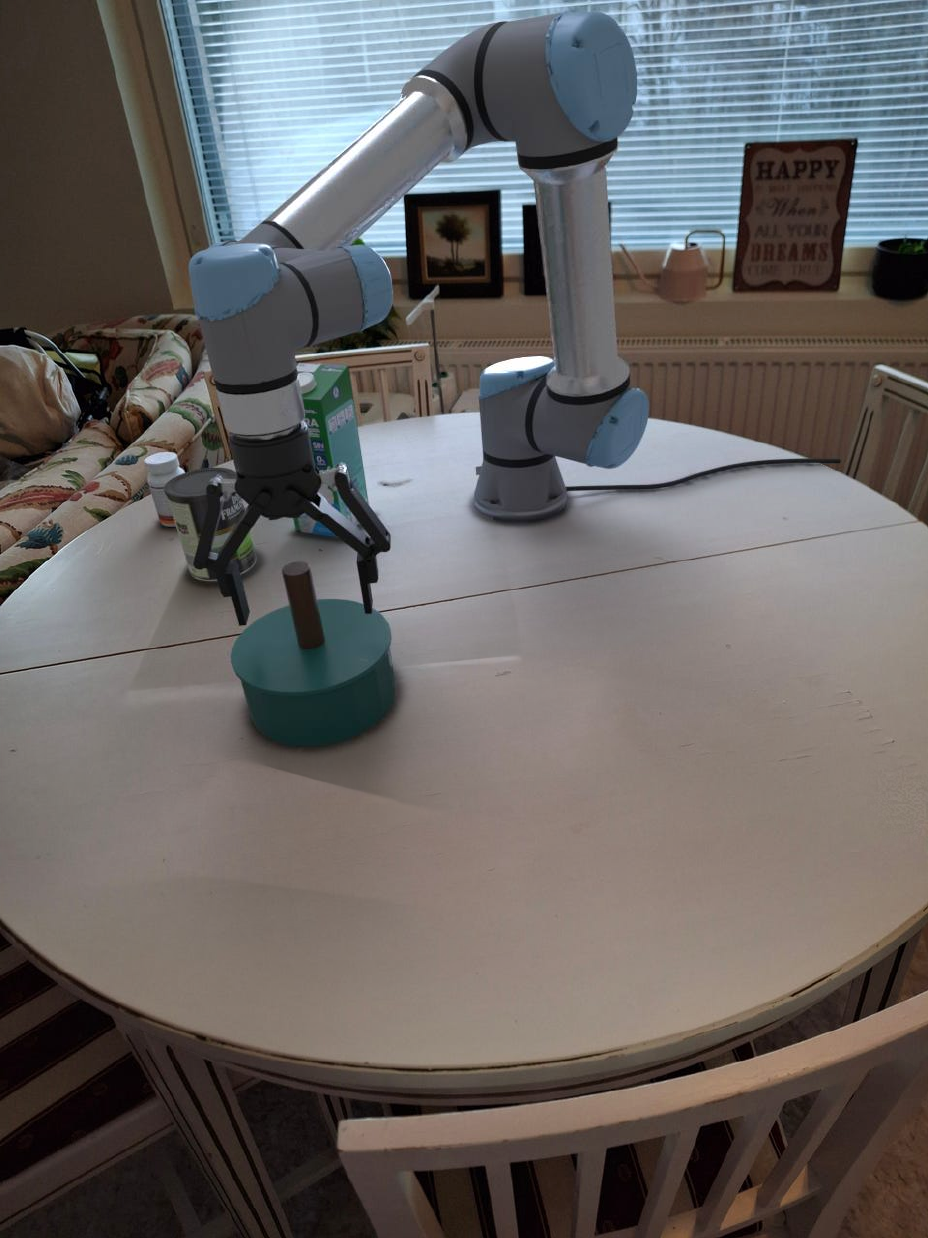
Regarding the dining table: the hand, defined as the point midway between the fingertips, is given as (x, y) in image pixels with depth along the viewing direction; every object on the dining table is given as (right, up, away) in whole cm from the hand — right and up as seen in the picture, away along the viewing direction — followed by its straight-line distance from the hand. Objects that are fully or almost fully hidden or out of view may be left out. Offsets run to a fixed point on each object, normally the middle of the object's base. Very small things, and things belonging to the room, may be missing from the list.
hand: (307, 613), depth 88 cm
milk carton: (-4, +15, +44) cm, 46 cm away
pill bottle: (-32, +16, +49) cm, 61 cm away
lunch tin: (+1, -10, +6) cm, 12 cm away
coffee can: (-19, +7, +35) cm, 40 cm away
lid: (0, -4, +2) cm, 4 cm away
